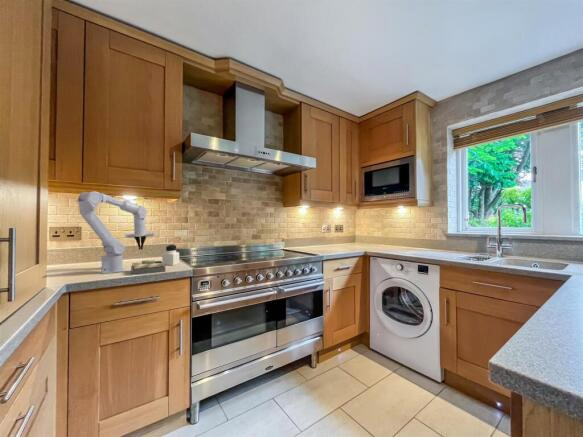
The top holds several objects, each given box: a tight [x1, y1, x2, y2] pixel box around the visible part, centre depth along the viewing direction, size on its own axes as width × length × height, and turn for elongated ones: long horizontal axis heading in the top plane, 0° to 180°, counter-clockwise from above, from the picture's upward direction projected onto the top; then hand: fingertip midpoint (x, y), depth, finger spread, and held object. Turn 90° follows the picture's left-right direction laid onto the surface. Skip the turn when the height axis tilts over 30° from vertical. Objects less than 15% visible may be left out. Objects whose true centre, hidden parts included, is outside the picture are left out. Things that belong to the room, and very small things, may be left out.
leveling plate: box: [131, 259, 165, 269], centre depth 140 cm, size 14×12×3 cm
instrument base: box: [130, 265, 166, 276], centre depth 140 cm, size 15×13×3 cm
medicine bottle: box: [161, 244, 180, 266], centre depth 160 cm, size 7×7×12 cm
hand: (140, 249), depth 151 cm, fingers closed
